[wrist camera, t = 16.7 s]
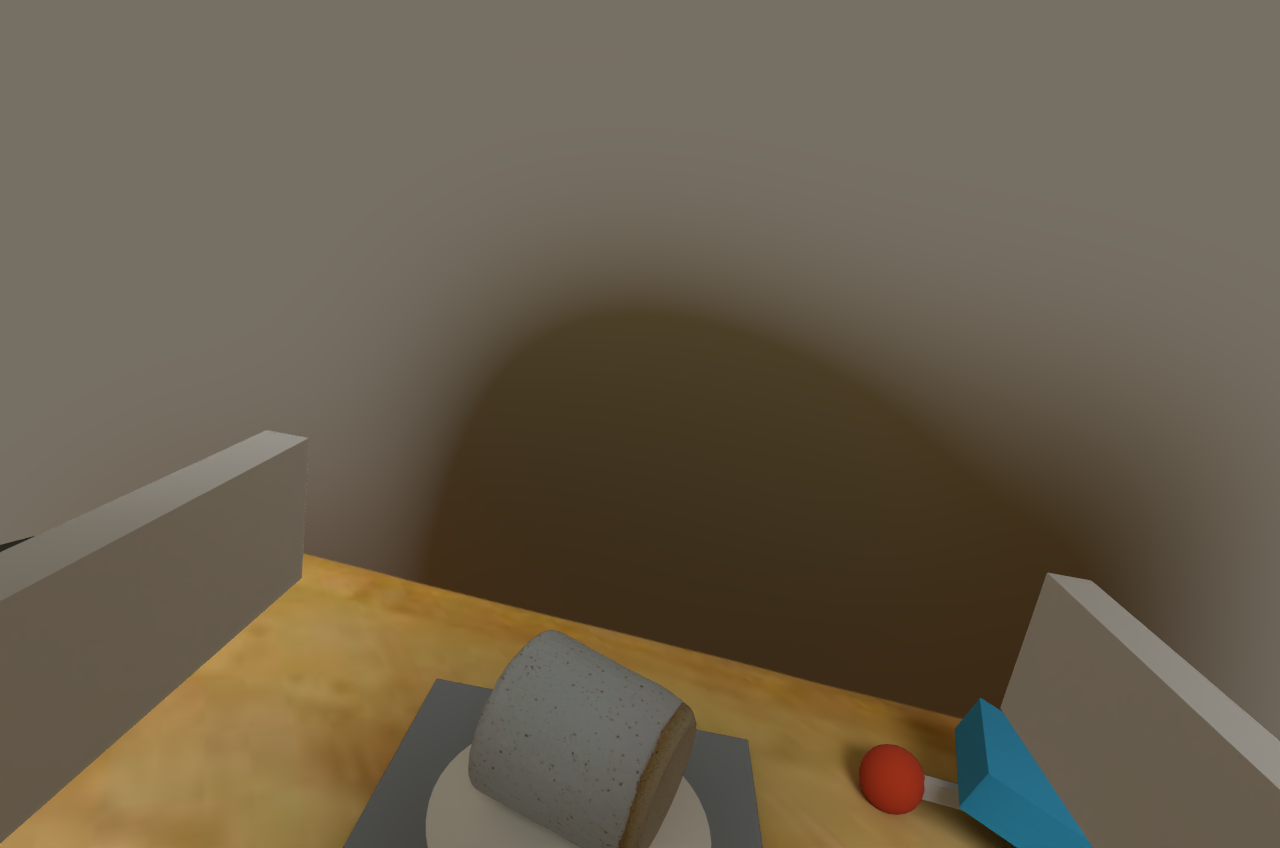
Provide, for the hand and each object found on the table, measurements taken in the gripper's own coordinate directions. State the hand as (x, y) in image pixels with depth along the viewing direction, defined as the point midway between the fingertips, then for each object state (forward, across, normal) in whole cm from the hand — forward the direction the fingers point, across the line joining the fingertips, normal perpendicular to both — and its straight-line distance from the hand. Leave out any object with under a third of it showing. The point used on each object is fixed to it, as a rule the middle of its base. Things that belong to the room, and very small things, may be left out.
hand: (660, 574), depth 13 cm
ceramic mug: (+17, -1, -21) cm, 27 cm away
